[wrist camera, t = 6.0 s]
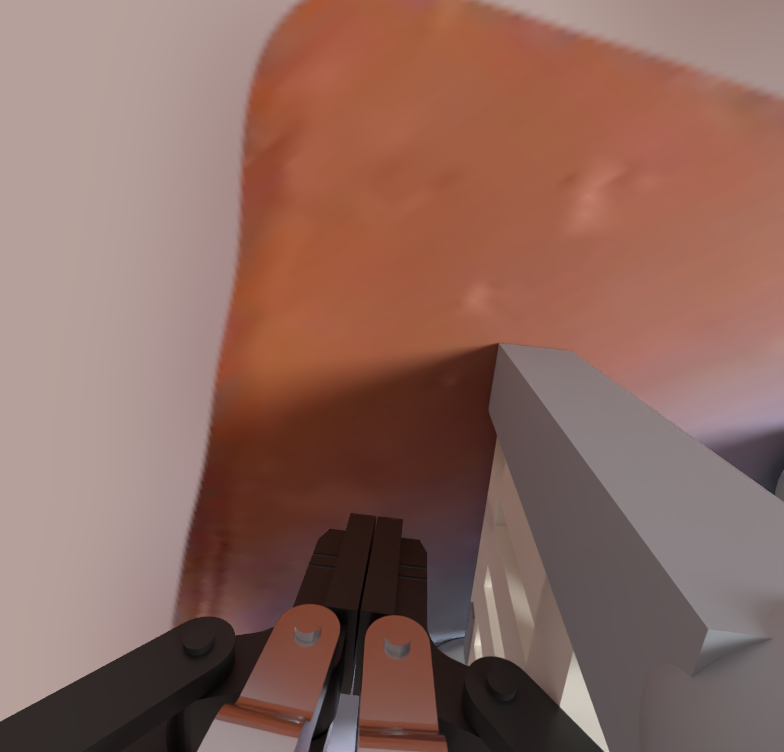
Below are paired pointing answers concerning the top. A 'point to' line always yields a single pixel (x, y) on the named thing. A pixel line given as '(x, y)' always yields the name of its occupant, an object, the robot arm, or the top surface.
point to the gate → (522, 606)
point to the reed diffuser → (780, 488)
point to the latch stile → (648, 558)
